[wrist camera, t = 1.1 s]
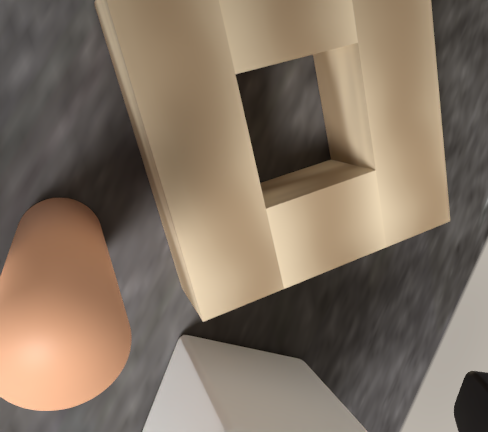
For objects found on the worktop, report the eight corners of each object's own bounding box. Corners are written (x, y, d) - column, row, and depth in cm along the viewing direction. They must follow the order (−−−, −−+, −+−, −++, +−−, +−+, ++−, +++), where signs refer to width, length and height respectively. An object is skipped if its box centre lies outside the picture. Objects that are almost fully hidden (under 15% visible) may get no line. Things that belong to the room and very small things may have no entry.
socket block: (182, 287, 21) (203, 322, 18) (94, 3, 17) (101, -18, 14) (399, 204, 24) (450, 221, 21) (367, -50, 20) (424, -78, 17)
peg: (34, 285, 19) (11, 433, 11) (2, 212, 18) (-49, 313, 9) (112, 258, 20) (148, 375, 11) (87, 187, 19) (106, 259, 10)
